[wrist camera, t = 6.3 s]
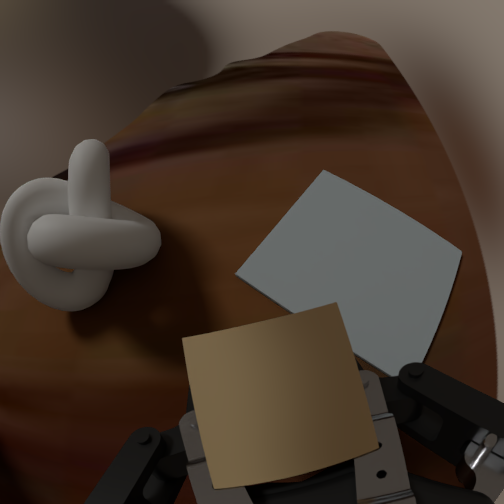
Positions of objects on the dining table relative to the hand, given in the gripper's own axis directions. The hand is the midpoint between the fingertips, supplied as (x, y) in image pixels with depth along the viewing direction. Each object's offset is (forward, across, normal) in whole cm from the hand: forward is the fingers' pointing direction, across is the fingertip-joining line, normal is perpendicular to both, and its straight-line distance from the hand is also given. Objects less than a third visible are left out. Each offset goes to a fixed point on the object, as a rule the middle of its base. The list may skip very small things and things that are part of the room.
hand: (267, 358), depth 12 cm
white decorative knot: (+11, -12, +4) cm, 16 cm away
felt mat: (+7, +8, 0) cm, 11 cm away
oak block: (+2, 0, -5) cm, 5 cm away
